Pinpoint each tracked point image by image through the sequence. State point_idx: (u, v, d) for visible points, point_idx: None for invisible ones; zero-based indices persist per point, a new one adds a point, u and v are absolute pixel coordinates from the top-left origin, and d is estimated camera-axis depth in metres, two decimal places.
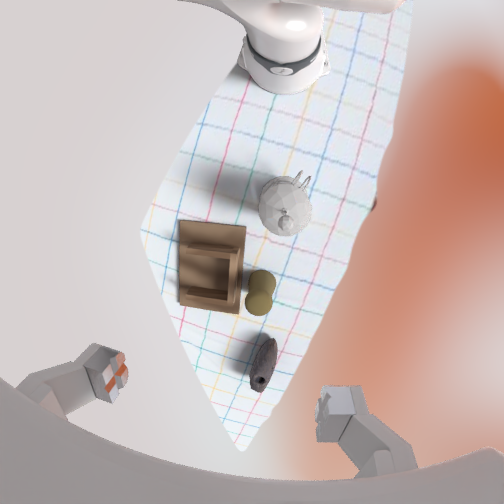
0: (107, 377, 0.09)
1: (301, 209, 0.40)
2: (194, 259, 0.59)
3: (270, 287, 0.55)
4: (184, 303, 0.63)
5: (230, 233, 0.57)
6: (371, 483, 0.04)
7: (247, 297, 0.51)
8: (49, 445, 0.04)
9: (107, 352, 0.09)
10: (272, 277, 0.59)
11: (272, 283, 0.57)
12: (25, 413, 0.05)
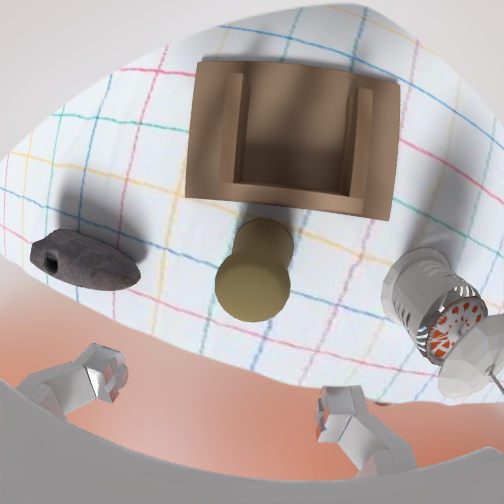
0: (107, 377, 0.09)
1: (476, 390, 0.14)
2: (318, 100, 0.22)
3: None
4: (202, 72, 0.22)
5: (378, 187, 0.24)
6: (371, 483, 0.04)
7: (272, 261, 0.18)
8: (49, 445, 0.04)
9: (107, 352, 0.09)
10: None
11: None
12: (25, 413, 0.05)
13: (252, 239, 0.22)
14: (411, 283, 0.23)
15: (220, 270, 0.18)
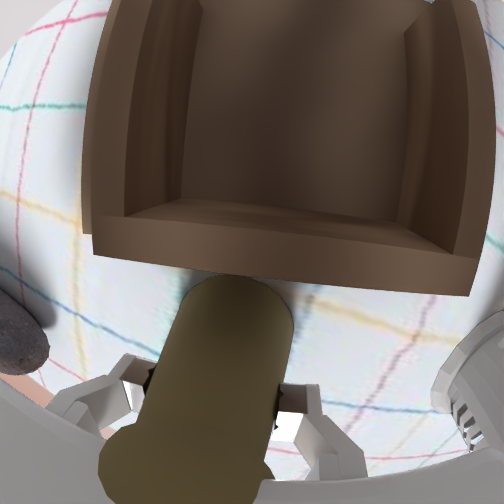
0: (146, 390, 0.08)
1: None
2: (348, 25, 0.08)
3: None
4: (121, 1, 0.08)
5: None
6: (371, 483, 0.04)
7: None
8: (49, 445, 0.04)
9: (143, 363, 0.09)
10: None
11: None
12: (25, 413, 0.05)
13: (190, 359, 0.08)
14: (491, 380, 0.10)
15: None
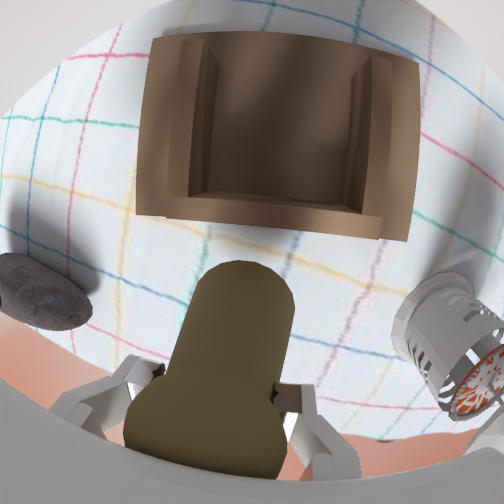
0: None
1: None
2: (313, 77, 0.15)
3: None
4: (158, 49, 0.15)
5: (395, 196, 0.17)
6: (371, 483, 0.04)
7: (244, 430, 0.06)
8: (49, 445, 0.04)
9: (148, 364, 0.09)
10: None
11: None
12: (25, 413, 0.05)
13: (211, 323, 0.10)
14: (433, 321, 0.17)
15: (126, 423, 0.06)
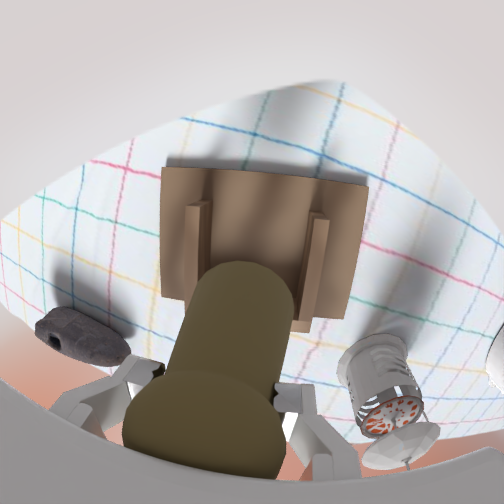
0: None
1: None
2: (280, 212, 0.26)
3: None
4: (167, 179, 0.26)
5: (335, 292, 0.27)
6: (371, 483, 0.04)
7: (242, 431, 0.06)
8: (49, 445, 0.04)
9: (148, 364, 0.09)
10: None
11: None
12: (25, 413, 0.05)
13: (210, 324, 0.10)
14: (360, 370, 0.27)
15: (125, 424, 0.06)
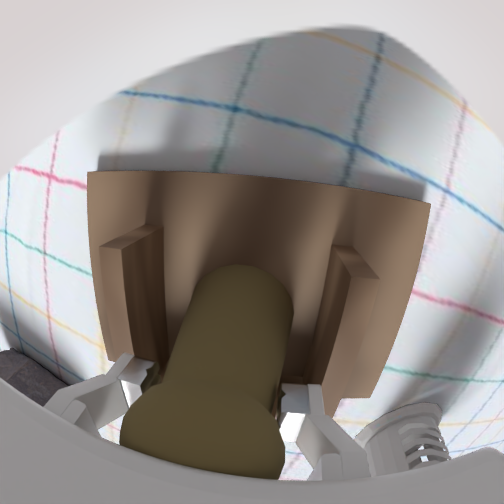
0: (144, 389, 0.08)
1: None
2: (279, 247, 0.14)
3: None
4: (94, 191, 0.14)
5: (362, 367, 0.16)
6: (371, 483, 0.04)
7: (240, 442, 0.05)
8: (49, 445, 0.04)
9: (142, 362, 0.09)
10: None
11: None
12: (25, 413, 0.05)
13: (208, 330, 0.10)
14: (384, 455, 0.16)
15: (122, 433, 0.06)
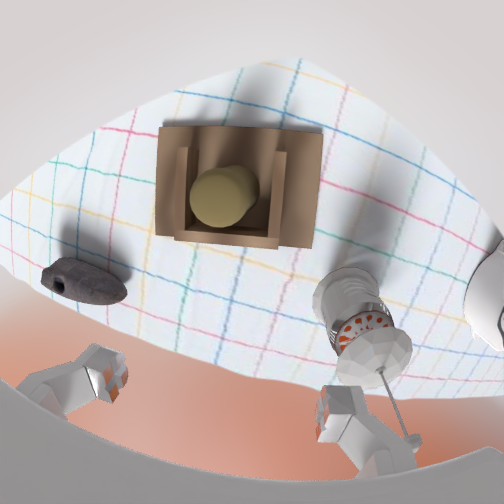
0: (107, 377, 0.09)
1: (376, 385, 0.23)
2: (251, 156, 0.31)
3: None
4: (163, 136, 0.31)
5: (301, 222, 0.33)
6: (371, 483, 0.04)
7: (233, 173, 0.22)
8: (49, 445, 0.04)
9: (107, 352, 0.09)
10: (249, 209, 0.32)
11: None
12: (25, 413, 0.05)
13: None
14: (331, 297, 0.33)
15: (194, 182, 0.22)
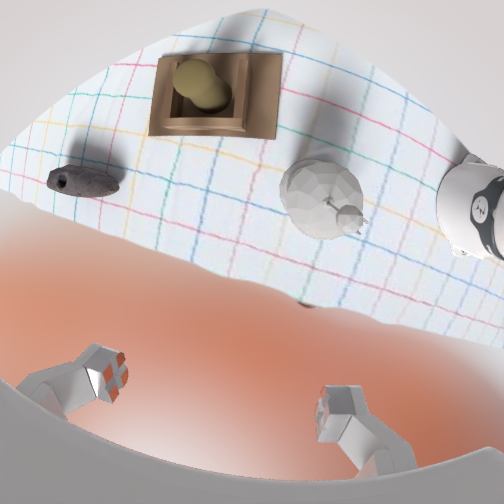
0: (107, 377, 0.09)
1: (329, 226, 0.27)
2: (226, 72, 0.35)
3: (212, 99, 0.32)
4: (161, 63, 0.35)
5: (265, 118, 0.37)
6: (371, 483, 0.04)
7: (204, 60, 0.26)
8: (49, 445, 0.04)
9: (107, 352, 0.09)
10: (222, 107, 0.36)
11: (215, 105, 0.34)
12: (25, 413, 0.05)
13: None
14: None
15: None
